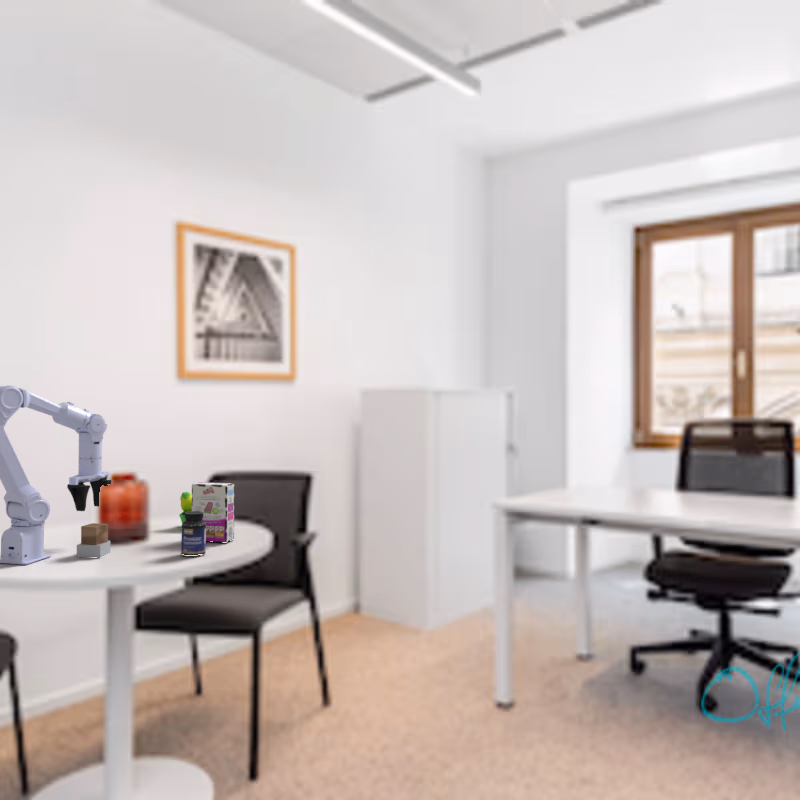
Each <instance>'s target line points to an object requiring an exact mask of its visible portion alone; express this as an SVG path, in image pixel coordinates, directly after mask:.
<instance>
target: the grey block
mask: <svg viewBox="0 0 800 800" xmlns="http://www.w3.org/2000/svg"><path fill="white" fill-rule="evenodd" d="M108 553H109V554H111V540H108V542H104V543H101V544H98V545H89V544H81V542H80V543H78V544H77V545H76V558H77V557H97V558H96V559H101V558H100V557H102V556H104V555H106V554H108ZM109 554H108V555H109ZM106 556H107V555H106ZM104 557H105V556H104ZM102 558H103V557H102Z"/></svg>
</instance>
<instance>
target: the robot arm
mask: <svg viewBox="0 0 800 800" xmlns="http://www.w3.org/2000/svg"><path fill="white" fill-rule="evenodd" d="M20 408H23V409H24V408H28V409H30V410H33V411H35V412H36V411H37V412H39V413H42V414H44V415H45V414H46V415H48V416H51V417H52V420H53V422H54V423H55V424H59V425H61V426H63V427H66V428H69V429H71V430H74V431H75V433H77V435H78V473H77V474H76V475H74V476H70V477H69V478H68V484H67V486H66V487H67V488H66V489H68V491H69V493H70V495H71V496H72V500H73V502H74V507H75V509H76V512H85V511H86V507H87V498H88V494H89V491H90V488H91V490H92V500H93V506H94V507H99V492H100V487H101V486H102V485H104V486H108V485H107V484H110V485H112V479H110V471H102V468H103V467H102V463H103V461H102V458H103V456H102V455H103V454H102V453H103V439H104V434H105V432H106V430H107V428H108V424H107V423H106V420H105V418H104V417H103V416H102V415H100V414H98V413H97V414H96V413H91V412H90V410H89V409H87V408H80V407H77V406H75V403H74V402H72V401H66V402H60V403H58V404H57V403H55V402H53V401H51V400H49V399H46V398H45V397H43V396H40V395H39V394H36V393H34V392H32V391H29V390H27V389H26V388H25V389H24V388H20V387H17V386H15V385H0V482H1V484H2V485H3V487H4V489H5V495H4V496H3V500H4V502H5V503H4V504H5V513H6V515H7V516H8V518H10V524H11V525H10V526H9V528H7V529H6V530H4V531H3V533H2V534H1V537H0V564H11V565H24V566H25V565H29V564H32V563H35V562H38V561H42V560H44V559H47V558H50V557H52V555H53V554H51V553H45V552H44V551H45V544H44V543H45V542H44V541H45V539H44V538H45V523H46V520H47V519H48V517H49V515H50V513H51V507H50V503H49V502H48V501H47V500H46V499H45V498H43V496H42V495H41V493H40V491H38V490H37V489H36V488H35V487H34V486H33V485H32V484H31V483H30V481H29V479H28V477H27V474H26V473H25V471H24V468H23V467H22V464H21V462H20V460H19V458H18V454H16V451H15V449H14V447H13V445H12V443H11V440H10V439H9V437H8V434H7V433H6V430H5V426H6V425H7V423H8V421H9V420H10V418H12V417H13V415H14V414H16V413H17V411H19V409H20ZM85 483H89V484H90V485H87V484H85Z"/></svg>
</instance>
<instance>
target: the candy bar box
mask: <svg viewBox="0 0 800 800" xmlns="http://www.w3.org/2000/svg"><path fill="white" fill-rule="evenodd" d="M191 495H192V511H201V512H203V513H204V517H203V519H202V520H203V521H204V522H205V523H206V541H213V542H227V541H230V540H232V539H234V540H235V483H230V482H227V483H225V482H202V481H201V482H195V483H191ZM213 542H212V543H213Z"/></svg>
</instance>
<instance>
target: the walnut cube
mask: <svg viewBox="0 0 800 800" xmlns="http://www.w3.org/2000/svg"><path fill="white" fill-rule="evenodd" d="M80 526H81V527H80V540H81V541H80V543H81V544H89V545H98V544H101V543H104V542H108V541H109V539H108V538H109V524H108V523H96V522H95V523H94V522H93V523H89V524H84V525H80Z"/></svg>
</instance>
